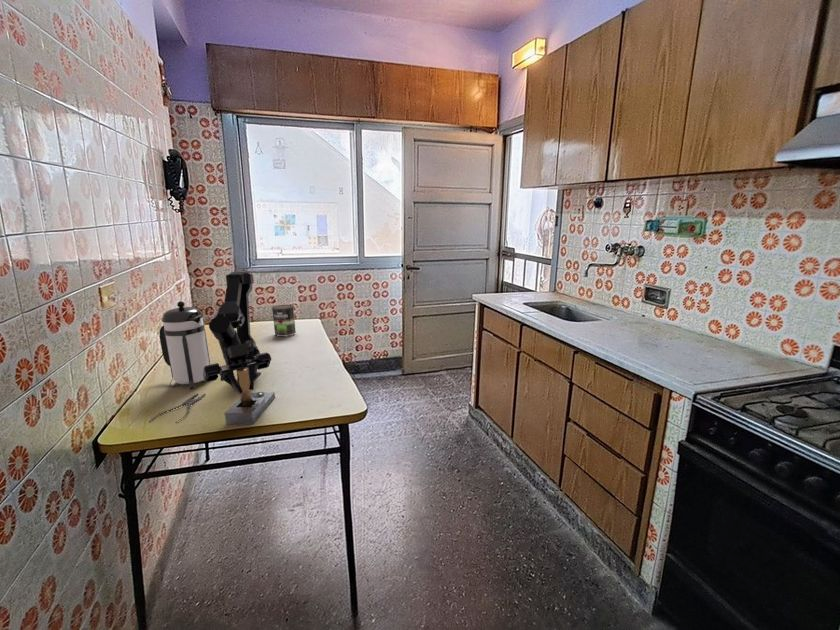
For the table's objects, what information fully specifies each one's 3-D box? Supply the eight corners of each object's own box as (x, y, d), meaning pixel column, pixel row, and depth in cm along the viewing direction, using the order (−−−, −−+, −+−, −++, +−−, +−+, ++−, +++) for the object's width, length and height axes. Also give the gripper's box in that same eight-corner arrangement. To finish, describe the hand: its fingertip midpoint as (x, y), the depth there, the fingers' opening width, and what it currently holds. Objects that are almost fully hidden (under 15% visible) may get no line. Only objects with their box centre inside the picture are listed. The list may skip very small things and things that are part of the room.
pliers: (145, 423, 122) (176, 394, 141) (145, 426, 122) (176, 397, 141) (180, 421, 123) (206, 392, 142) (181, 423, 123) (207, 395, 142)
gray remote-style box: (251, 397, 138) (250, 387, 137) (275, 397, 138) (273, 387, 137) (226, 424, 121) (224, 413, 120) (253, 424, 121) (251, 412, 120)
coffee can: (292, 336, 206) (289, 308, 203) (271, 337, 207) (268, 309, 203) (299, 330, 216) (296, 304, 213) (279, 331, 217) (276, 304, 213)
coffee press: (218, 371, 163) (207, 295, 155) (214, 386, 148) (201, 303, 141) (167, 378, 157) (153, 299, 150) (157, 395, 142) (141, 308, 135)
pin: (244, 408, 128) (239, 367, 125) (255, 407, 128) (250, 367, 125) (240, 412, 125) (234, 371, 122) (250, 412, 125) (245, 371, 122)
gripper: (199, 339, 118) (214, 388, 112) (265, 327, 129) (282, 370, 123) (197, 358, 126) (211, 405, 120) (260, 345, 137) (276, 387, 131)
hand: (246, 391), depth 124 cm, fingers closed on pin, 3 cm apart
